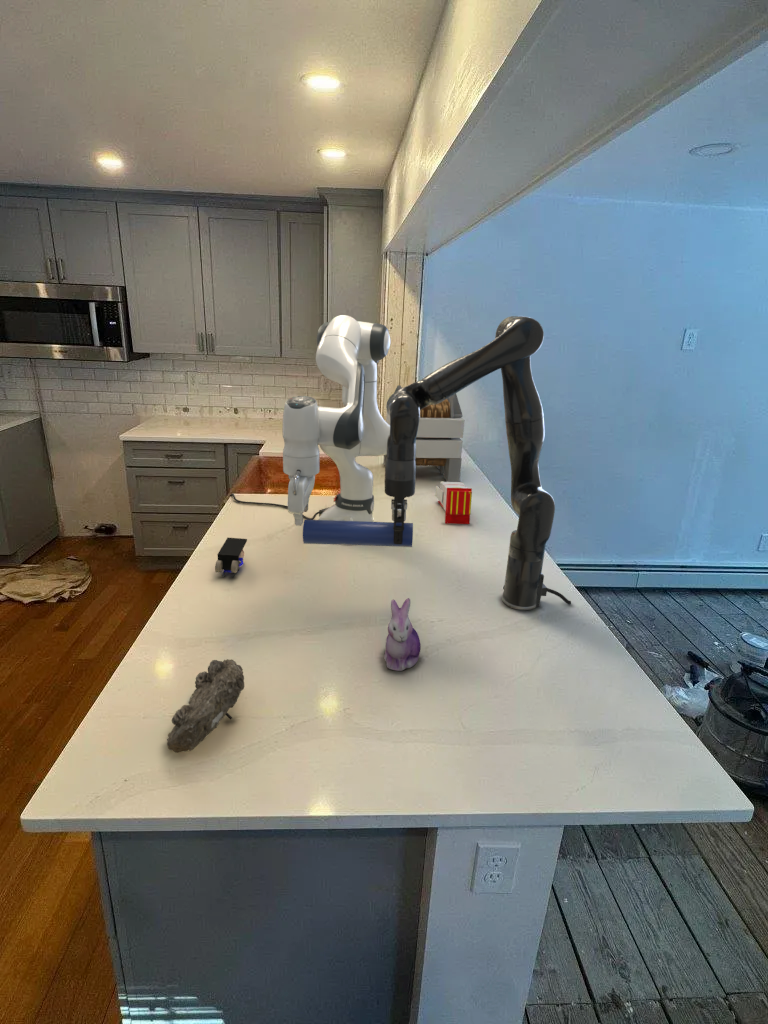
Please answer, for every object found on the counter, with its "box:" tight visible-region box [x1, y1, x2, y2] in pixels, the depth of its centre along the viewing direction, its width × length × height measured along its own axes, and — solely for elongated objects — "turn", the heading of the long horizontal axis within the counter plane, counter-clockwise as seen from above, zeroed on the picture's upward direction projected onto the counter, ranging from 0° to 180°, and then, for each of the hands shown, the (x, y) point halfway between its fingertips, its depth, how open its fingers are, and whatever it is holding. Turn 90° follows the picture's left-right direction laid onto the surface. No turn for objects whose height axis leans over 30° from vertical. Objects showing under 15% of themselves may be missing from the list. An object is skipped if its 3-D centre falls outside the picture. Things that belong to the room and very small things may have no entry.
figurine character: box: [214, 537, 248, 578], centre depth 166 cm, size 7×8×15 cm
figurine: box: [383, 597, 422, 672], centre depth 125 cm, size 9×10×15 cm
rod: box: [302, 519, 414, 548], centre depth 144 cm, size 27×6×6 cm, turn 89°
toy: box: [434, 481, 473, 525], centre depth 222 cm, size 12×13×30 cm
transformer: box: [383, 384, 465, 482], centre depth 268 cm, size 34×33×41 cm
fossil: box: [166, 658, 245, 754], centre depth 106 cm, size 22×10×15 cm
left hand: (301, 517), depth 143 cm, fingers open, 8 cm apart
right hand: (397, 538), depth 144 cm, fingers closed on rod, 6 cm apart
